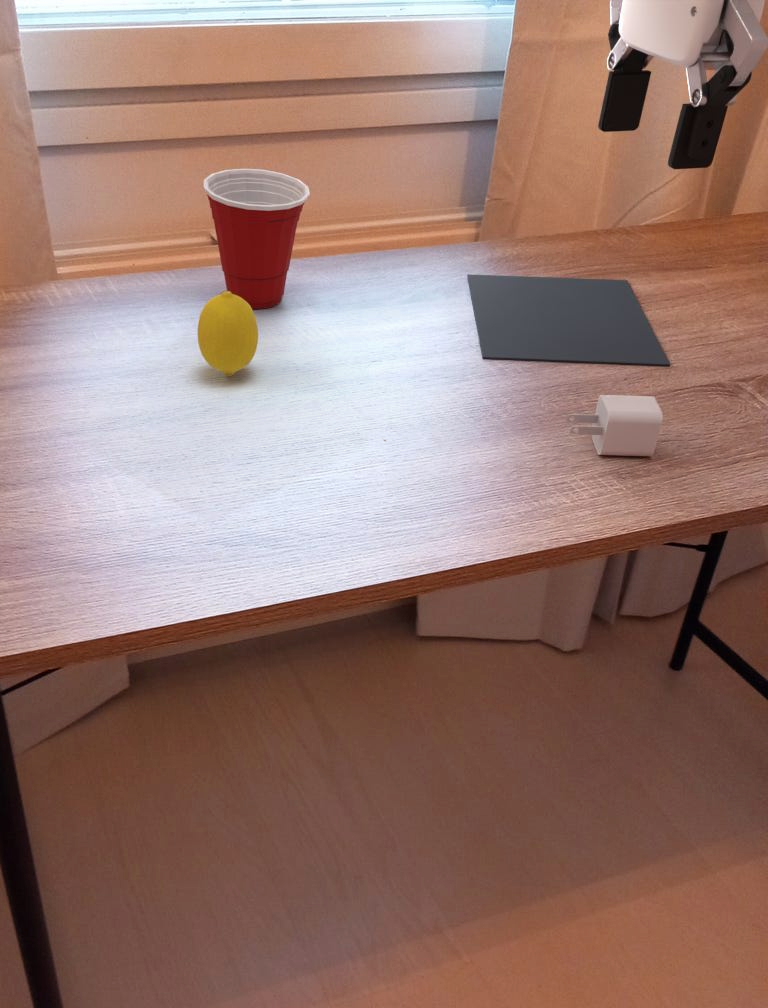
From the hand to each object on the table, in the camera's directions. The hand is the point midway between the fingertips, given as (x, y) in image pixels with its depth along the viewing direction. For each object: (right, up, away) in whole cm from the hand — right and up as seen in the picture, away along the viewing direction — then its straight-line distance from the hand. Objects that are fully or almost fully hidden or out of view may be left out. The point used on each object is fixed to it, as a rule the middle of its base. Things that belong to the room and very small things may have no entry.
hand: (651, 147), depth 74 cm
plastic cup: (-30, +1, +36) cm, 47 cm away
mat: (+2, -2, +33) cm, 33 cm away
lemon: (-32, -11, +22) cm, 40 cm away
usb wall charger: (0, -20, +12) cm, 23 cm away
